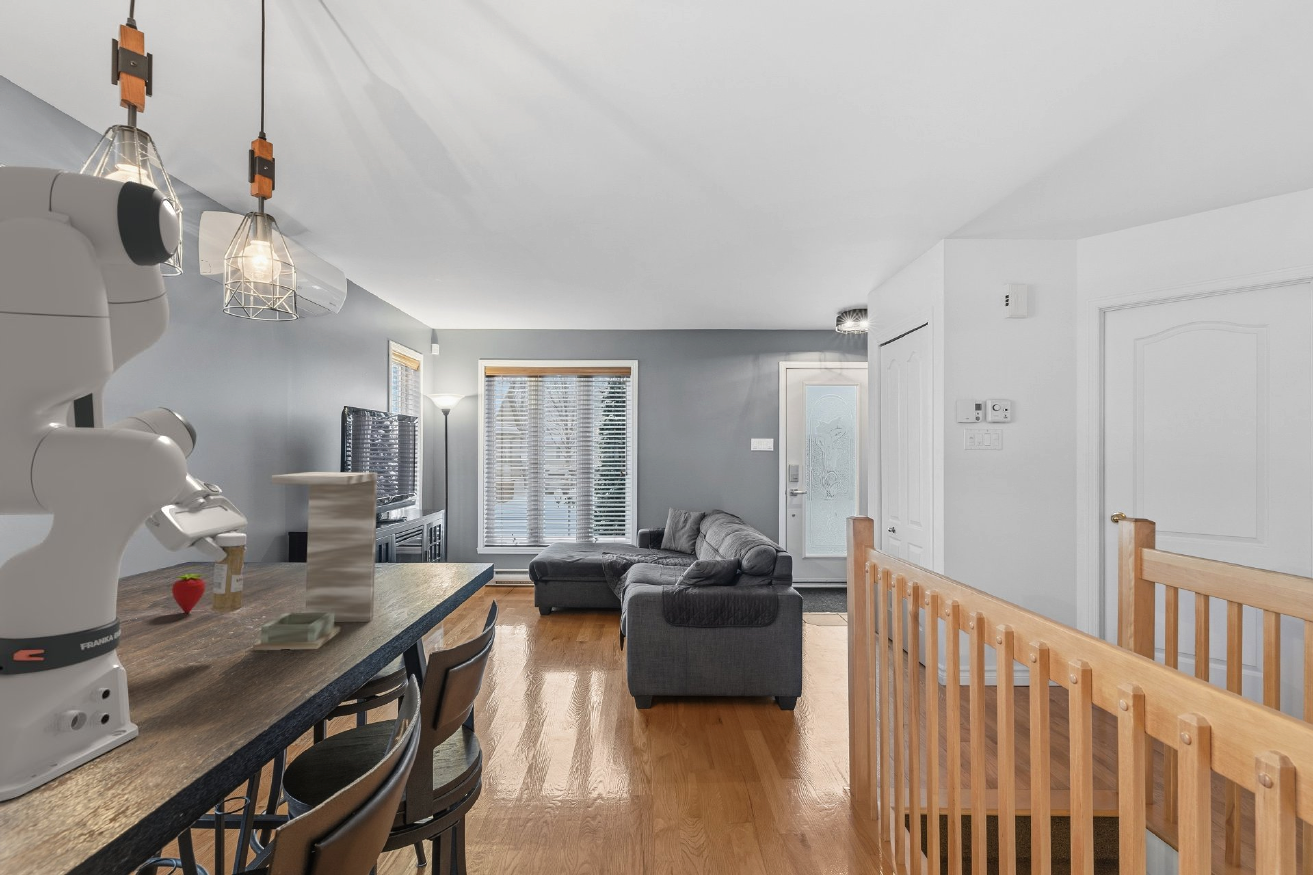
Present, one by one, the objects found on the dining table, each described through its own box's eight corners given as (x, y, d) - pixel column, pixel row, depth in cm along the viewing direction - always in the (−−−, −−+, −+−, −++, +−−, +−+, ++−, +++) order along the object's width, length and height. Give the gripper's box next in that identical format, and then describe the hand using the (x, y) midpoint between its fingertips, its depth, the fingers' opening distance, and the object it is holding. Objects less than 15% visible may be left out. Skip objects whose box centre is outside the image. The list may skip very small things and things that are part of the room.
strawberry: (202, 606, 141) (204, 562, 141) (206, 613, 135) (208, 567, 135) (169, 611, 137) (171, 565, 137) (172, 618, 131) (174, 571, 131)
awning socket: (337, 648, 114) (342, 476, 114) (252, 650, 112) (258, 475, 113) (373, 618, 134) (377, 472, 134) (301, 619, 132) (306, 471, 132)
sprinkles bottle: (244, 610, 111) (249, 534, 111) (213, 614, 107) (219, 536, 108) (238, 604, 114) (243, 531, 114) (208, 608, 111) (213, 533, 111)
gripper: (150, 492, 100) (214, 553, 101) (222, 484, 120) (274, 535, 121) (118, 519, 99) (183, 580, 100) (196, 507, 120) (249, 558, 121)
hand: (233, 555), depth 111 cm, fingers closed on sprinkles bottle, 4 cm apart
